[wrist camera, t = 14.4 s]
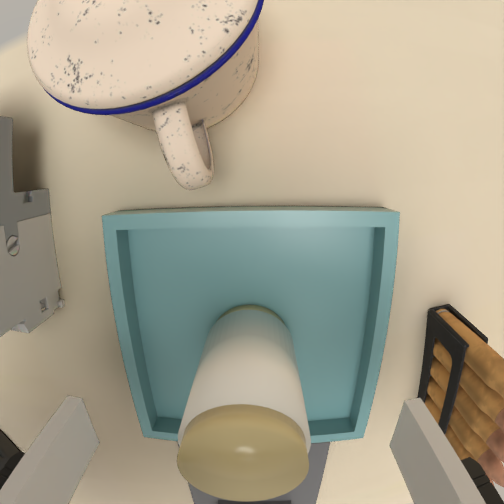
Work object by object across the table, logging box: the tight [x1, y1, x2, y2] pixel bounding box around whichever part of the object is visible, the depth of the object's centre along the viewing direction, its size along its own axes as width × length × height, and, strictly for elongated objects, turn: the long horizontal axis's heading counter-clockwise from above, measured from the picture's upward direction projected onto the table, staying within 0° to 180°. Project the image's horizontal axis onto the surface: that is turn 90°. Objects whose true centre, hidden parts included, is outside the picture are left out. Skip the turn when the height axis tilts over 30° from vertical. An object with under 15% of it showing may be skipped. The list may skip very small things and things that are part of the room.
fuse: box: [177, 304, 311, 501], centre depth 14 cm, size 5×5×10 cm
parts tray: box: [102, 206, 400, 443], centre depth 19 cm, size 16×16×2 cm
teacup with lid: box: [27, 0, 264, 190], centre depth 11 cm, size 12×9×12 cm
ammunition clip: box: [418, 304, 504, 487], centre depth 15 cm, size 11×2×12 cm, turn 8°
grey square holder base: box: [178, 442, 330, 504], centre depth 22 cm, size 12×11×4 cm
